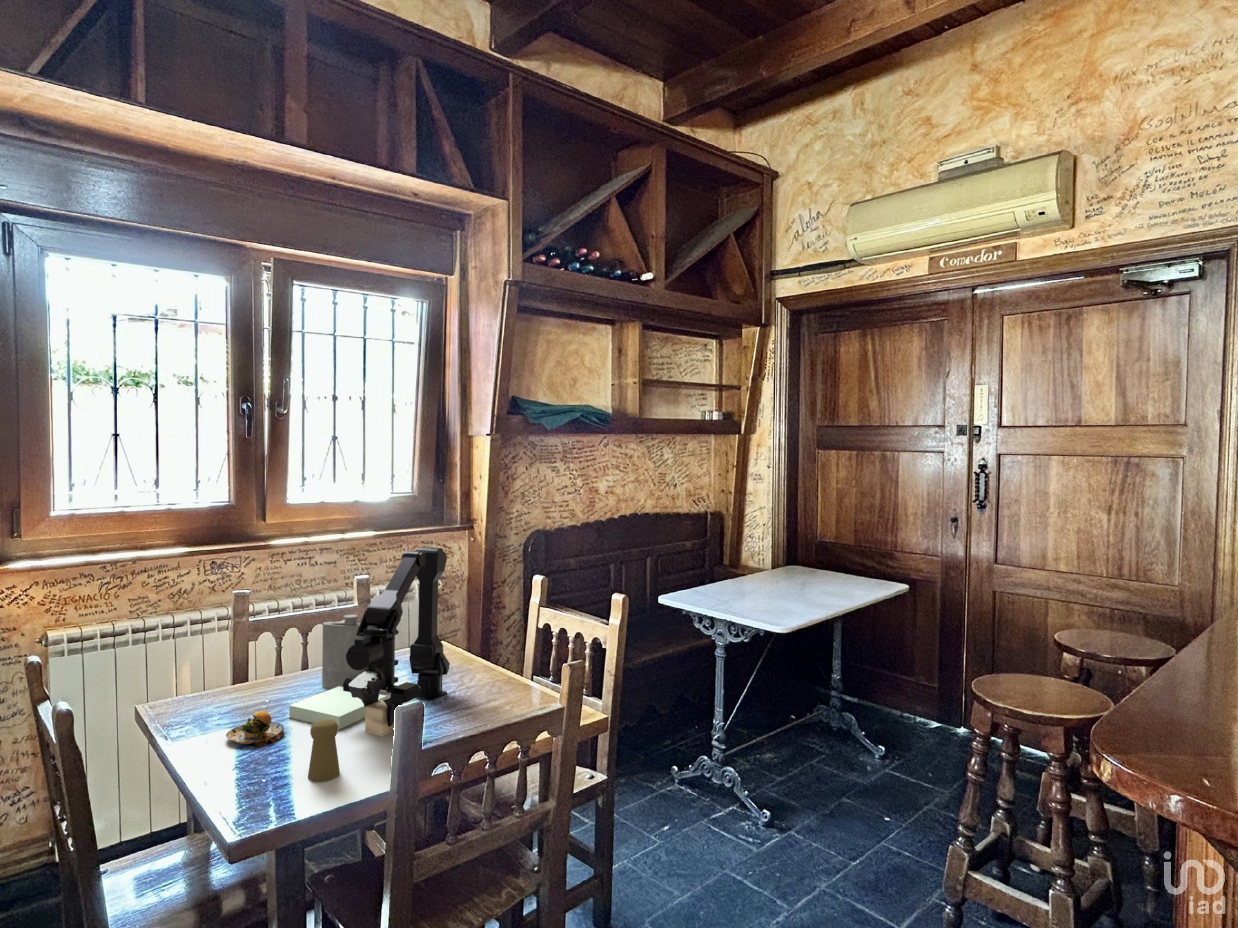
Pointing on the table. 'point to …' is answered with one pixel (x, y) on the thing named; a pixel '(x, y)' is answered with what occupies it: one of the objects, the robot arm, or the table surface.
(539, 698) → the table surface
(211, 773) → the table surface
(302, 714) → the plinth
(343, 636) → the hip flask
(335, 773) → the cork
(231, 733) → the burger
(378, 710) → the birch block
